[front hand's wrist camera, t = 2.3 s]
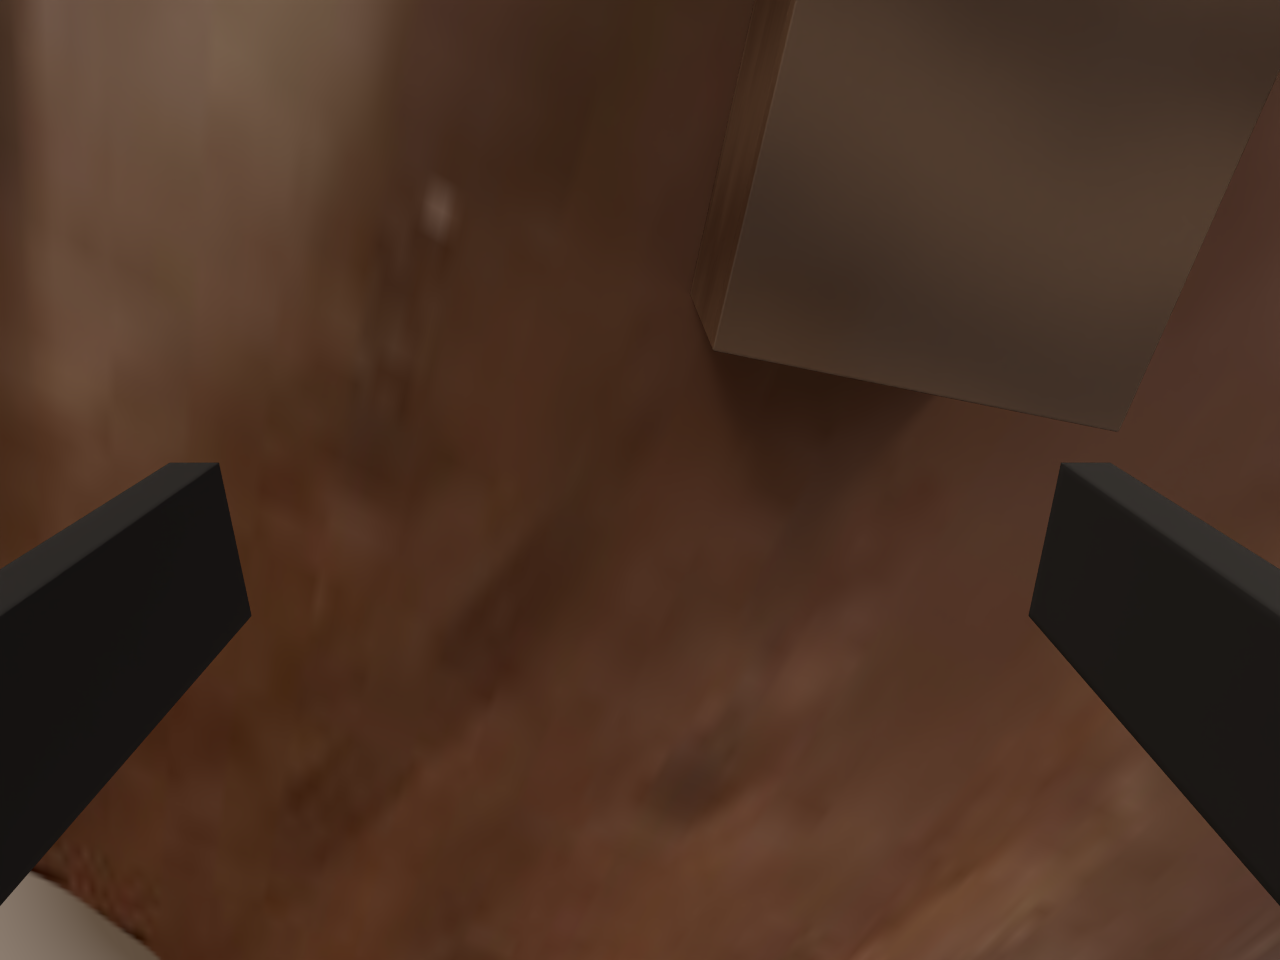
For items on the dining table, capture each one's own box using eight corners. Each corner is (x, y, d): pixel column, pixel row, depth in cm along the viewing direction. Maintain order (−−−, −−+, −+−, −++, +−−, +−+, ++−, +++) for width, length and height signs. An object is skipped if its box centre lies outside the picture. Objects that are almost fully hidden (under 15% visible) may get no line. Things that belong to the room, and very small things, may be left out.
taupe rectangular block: (832, -355, 22) (966, -721, 13) (1191, -258, 23) (1551, -539, 14) (689, 294, 29) (712, 350, 20) (972, 353, 30) (1119, 432, 20)
